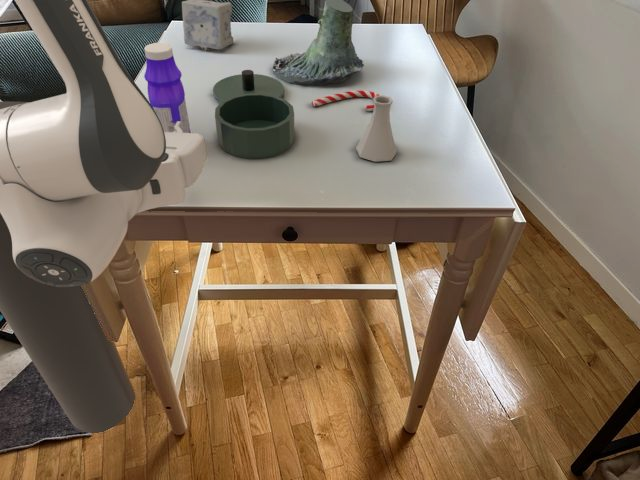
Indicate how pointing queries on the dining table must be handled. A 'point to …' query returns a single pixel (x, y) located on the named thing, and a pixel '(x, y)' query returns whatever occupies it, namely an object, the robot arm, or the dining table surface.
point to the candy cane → (346, 95)
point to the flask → (378, 133)
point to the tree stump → (324, 51)
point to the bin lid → (247, 85)
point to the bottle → (165, 86)
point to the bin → (255, 125)
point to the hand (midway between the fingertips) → (144, 123)
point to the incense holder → (207, 23)
